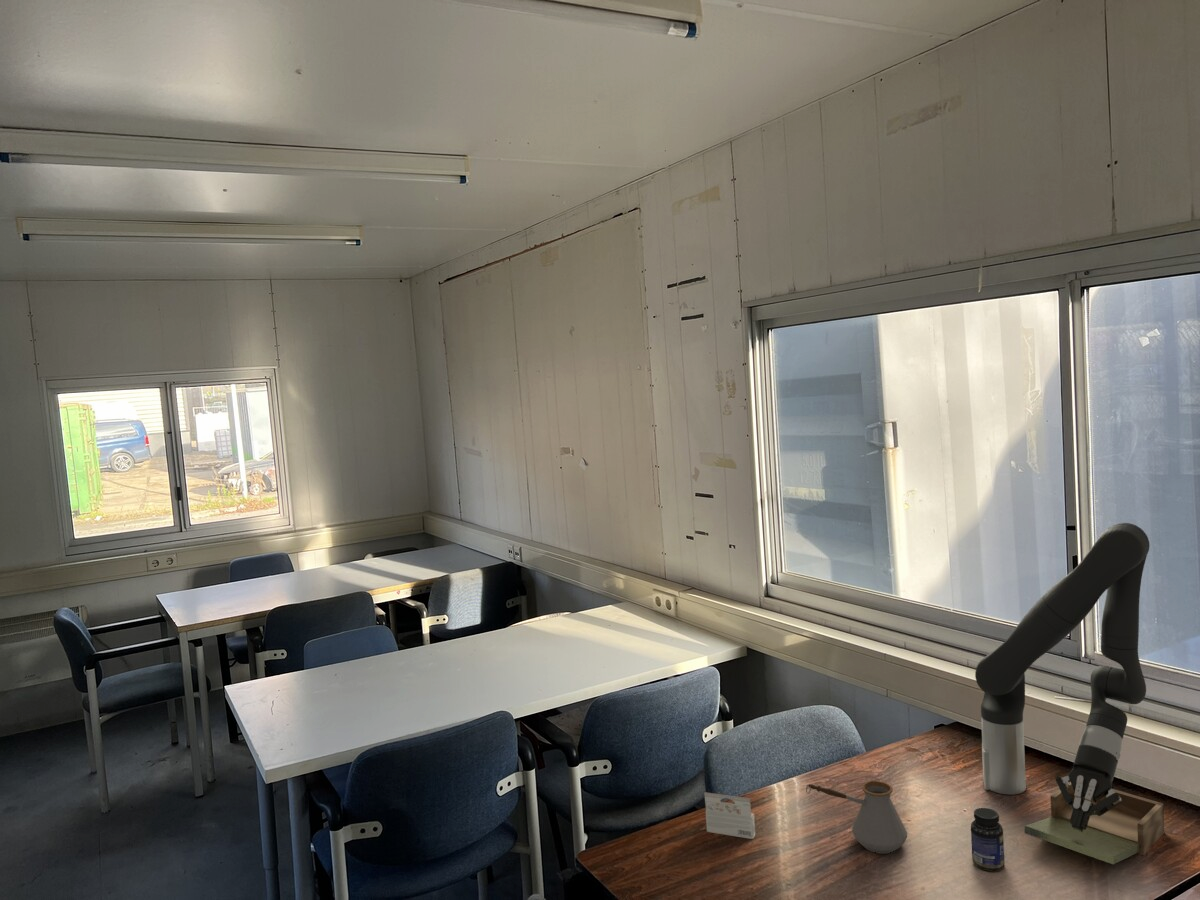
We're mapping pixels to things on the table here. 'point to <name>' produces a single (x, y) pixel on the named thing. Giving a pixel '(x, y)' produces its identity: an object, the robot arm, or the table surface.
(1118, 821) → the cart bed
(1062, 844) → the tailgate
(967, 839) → the table surface
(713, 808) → the ink cartridge box
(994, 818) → the pill bottle
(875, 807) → the coffee pot
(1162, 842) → the table surface
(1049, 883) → the table surface
